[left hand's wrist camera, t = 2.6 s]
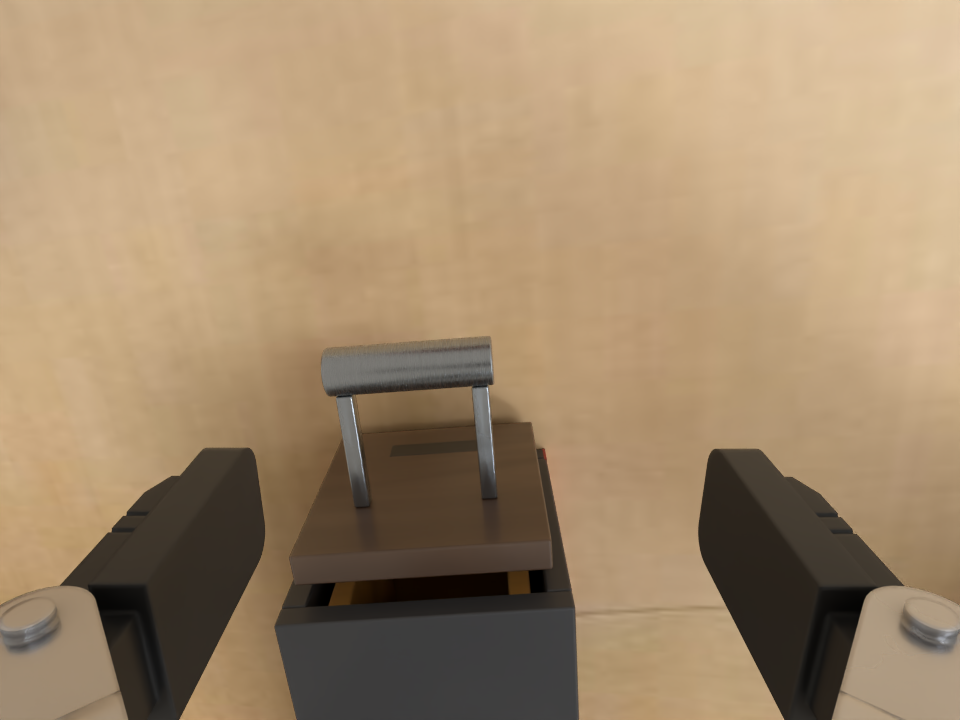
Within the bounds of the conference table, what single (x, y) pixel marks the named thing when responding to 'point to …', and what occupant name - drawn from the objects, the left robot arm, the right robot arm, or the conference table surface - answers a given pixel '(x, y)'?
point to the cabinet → (437, 651)
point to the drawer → (423, 487)
